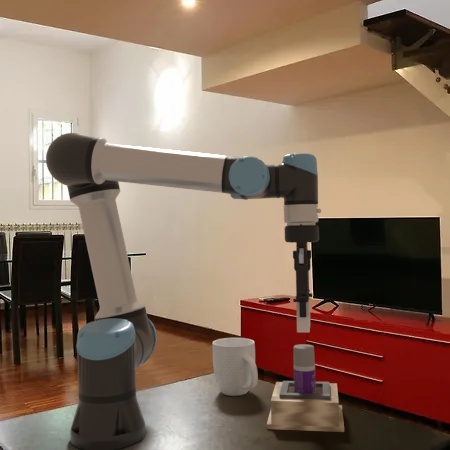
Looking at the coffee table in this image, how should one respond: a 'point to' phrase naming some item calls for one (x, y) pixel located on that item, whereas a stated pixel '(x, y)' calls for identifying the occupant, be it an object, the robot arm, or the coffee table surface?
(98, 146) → the robot arm
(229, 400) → the coffee table surface
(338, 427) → the socket
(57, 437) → the coffee table surface
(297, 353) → the container
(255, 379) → the mug
